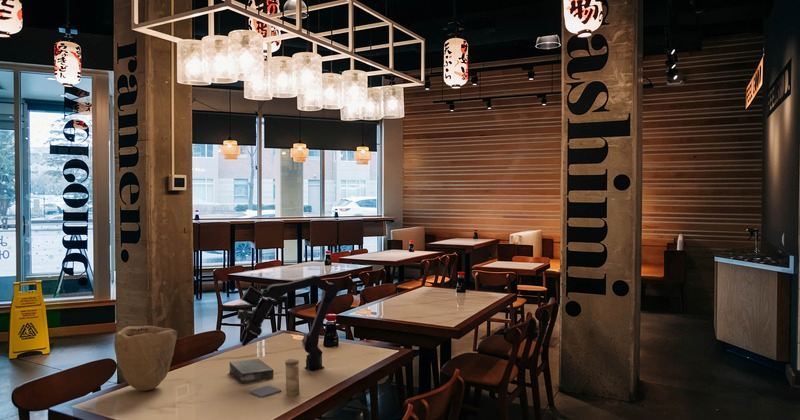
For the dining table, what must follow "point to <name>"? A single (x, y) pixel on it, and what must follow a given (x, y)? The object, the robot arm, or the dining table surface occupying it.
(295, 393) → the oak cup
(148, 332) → the bowl
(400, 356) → the dining table surface
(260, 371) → the stone block
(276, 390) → the slate mat
